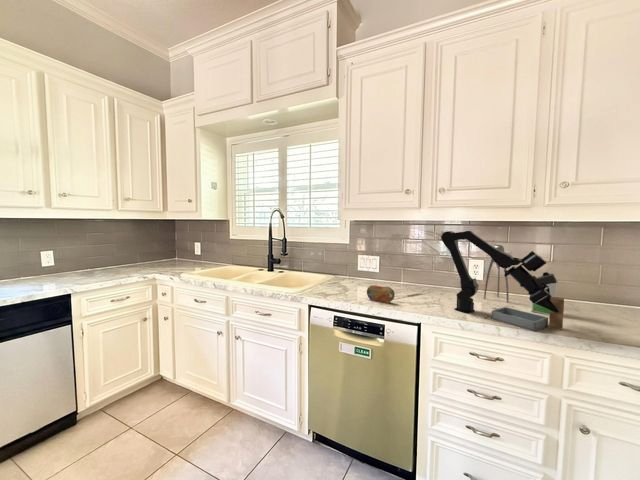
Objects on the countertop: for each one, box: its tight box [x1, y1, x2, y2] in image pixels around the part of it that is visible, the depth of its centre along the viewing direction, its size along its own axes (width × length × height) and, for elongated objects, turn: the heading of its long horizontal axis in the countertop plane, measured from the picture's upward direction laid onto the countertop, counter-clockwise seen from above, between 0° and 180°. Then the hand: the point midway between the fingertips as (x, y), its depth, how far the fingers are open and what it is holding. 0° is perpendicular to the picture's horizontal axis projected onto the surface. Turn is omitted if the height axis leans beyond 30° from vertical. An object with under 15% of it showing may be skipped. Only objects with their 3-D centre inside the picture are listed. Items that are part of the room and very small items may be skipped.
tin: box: [366, 284, 396, 304], centre depth 146 cm, size 15×3×8 cm, turn 54°
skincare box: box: [531, 280, 558, 316], centre depth 128 cm, size 8×7×16 cm
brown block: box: [548, 296, 565, 331], centre depth 109 cm, size 4×4×12 cm
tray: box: [490, 306, 549, 332], centre depth 116 cm, size 16×11×4 cm
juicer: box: [483, 244, 509, 303], centre depth 147 cm, size 10×11×30 cm
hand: (557, 309), depth 109 cm, fingers open, 9 cm apart
